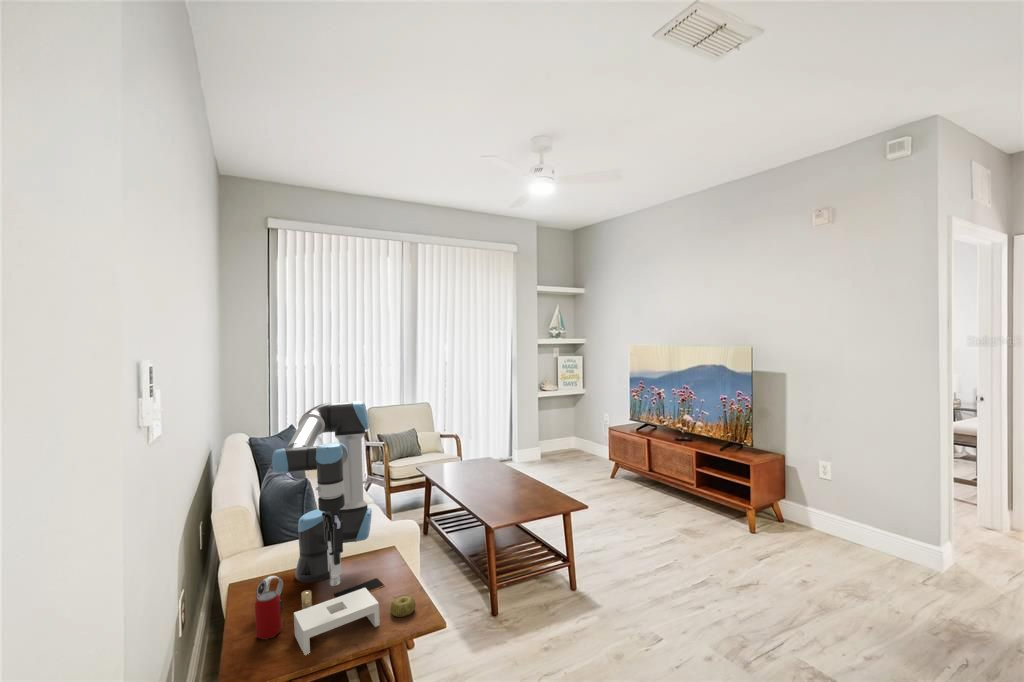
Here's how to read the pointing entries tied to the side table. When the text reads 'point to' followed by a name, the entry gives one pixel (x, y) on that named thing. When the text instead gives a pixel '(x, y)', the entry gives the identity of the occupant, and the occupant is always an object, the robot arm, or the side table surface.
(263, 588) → the watch
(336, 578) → the tall steel pin
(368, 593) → the white bench
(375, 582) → the smartphone
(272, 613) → the beverage can
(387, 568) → the side table surface
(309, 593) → the short brass pin
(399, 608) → the sculpture
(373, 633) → the side table surface
